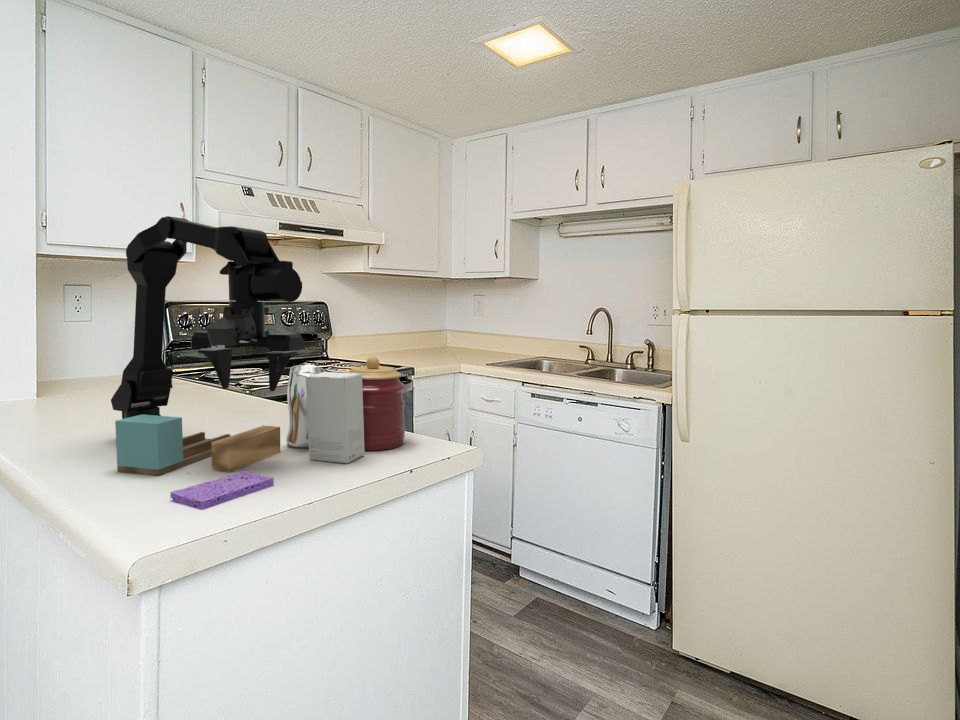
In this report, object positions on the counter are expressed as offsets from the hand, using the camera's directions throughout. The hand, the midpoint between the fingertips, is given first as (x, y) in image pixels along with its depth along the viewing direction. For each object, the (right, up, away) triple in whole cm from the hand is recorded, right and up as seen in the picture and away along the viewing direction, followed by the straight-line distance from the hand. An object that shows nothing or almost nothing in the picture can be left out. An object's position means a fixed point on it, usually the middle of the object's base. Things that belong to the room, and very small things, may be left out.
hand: (248, 389), depth 102 cm
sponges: (+3, -15, -16) cm, 22 cm away
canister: (+19, -12, +15) cm, 27 cm away
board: (-13, -12, +2) cm, 18 cm away
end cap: (-14, -12, -6) cm, 19 cm away
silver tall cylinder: (+6, -11, +13) cm, 18 cm away
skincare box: (+15, -13, +4) cm, 20 cm away
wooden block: (0, -13, +1) cm, 13 cm away
